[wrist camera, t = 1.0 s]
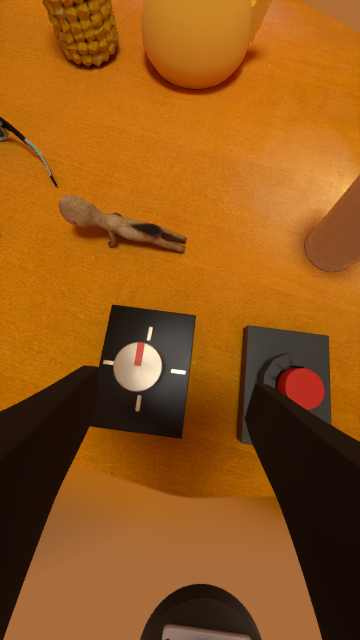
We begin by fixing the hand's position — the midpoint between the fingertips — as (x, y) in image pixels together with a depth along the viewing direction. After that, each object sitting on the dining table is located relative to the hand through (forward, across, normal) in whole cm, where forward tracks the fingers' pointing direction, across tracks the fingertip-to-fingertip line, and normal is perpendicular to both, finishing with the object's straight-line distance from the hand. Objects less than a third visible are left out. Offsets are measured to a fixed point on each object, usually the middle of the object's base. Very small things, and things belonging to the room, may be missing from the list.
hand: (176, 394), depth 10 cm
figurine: (+22, +6, -7) cm, 24 cm away
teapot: (+40, -1, -38) cm, 55 cm away
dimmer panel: (+14, +2, +7) cm, 15 cm away
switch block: (+12, -13, +6) cm, 19 cm away
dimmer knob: (+11, +2, +5) cm, 12 cm away
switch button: (+9, -13, +5) cm, 17 cm away
